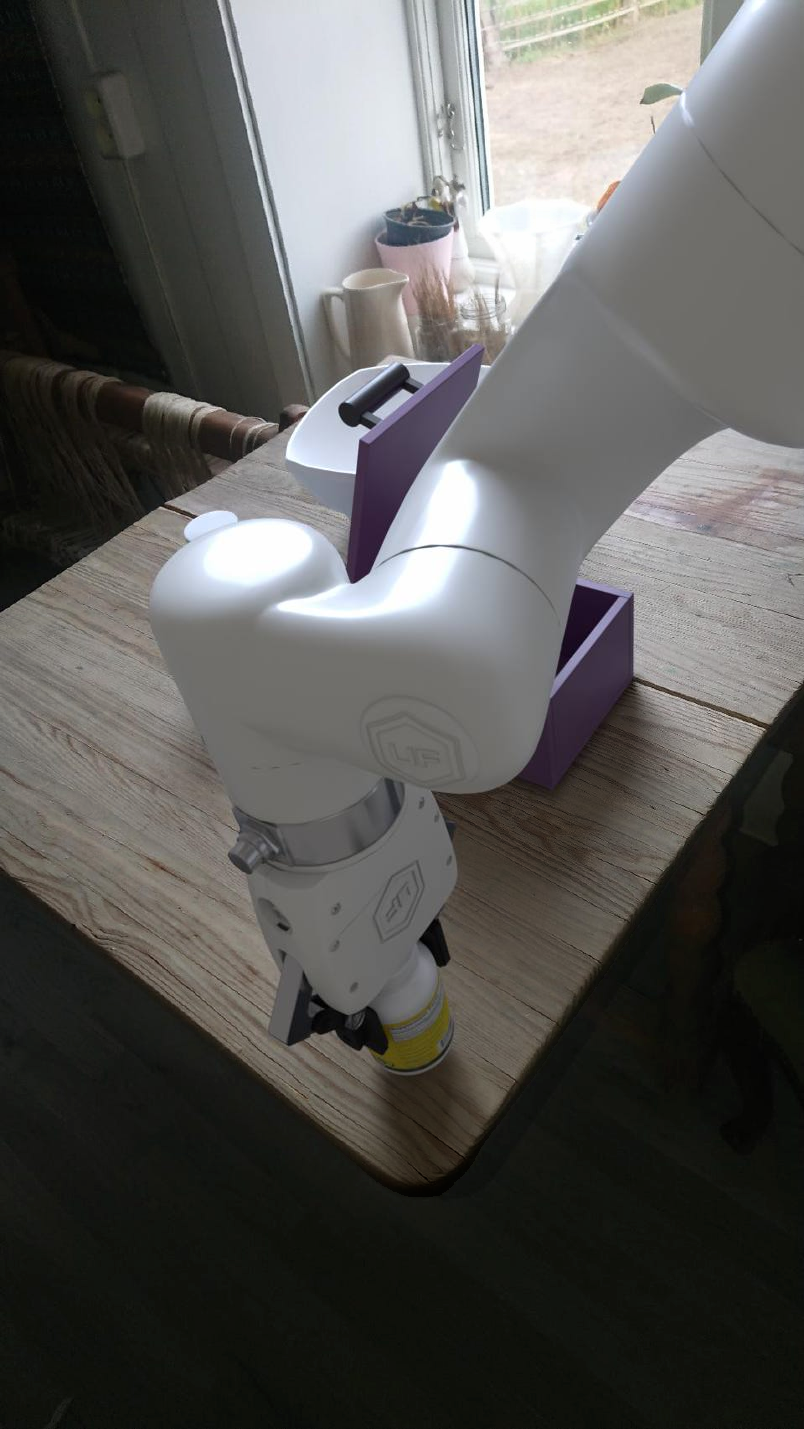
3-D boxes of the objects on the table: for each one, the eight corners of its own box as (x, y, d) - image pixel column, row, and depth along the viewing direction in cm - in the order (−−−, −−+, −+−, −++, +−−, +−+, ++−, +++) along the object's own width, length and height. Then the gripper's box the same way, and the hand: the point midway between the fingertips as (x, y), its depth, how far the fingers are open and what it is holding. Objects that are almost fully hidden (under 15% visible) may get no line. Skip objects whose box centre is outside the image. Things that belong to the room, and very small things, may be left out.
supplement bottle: (354, 1019, 60) (316, 930, 54) (433, 981, 61) (405, 888, 55) (387, 1095, 56) (350, 1009, 50) (471, 1052, 57) (445, 962, 51)
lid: (485, 347, 67) (424, 315, 68) (369, 444, 60) (303, 407, 61) (444, 539, 82) (394, 510, 83) (347, 635, 75) (295, 602, 76)
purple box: (633, 677, 80) (634, 592, 74) (552, 790, 72) (545, 706, 66) (453, 621, 88) (441, 541, 82) (365, 717, 81) (344, 637, 75)
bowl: (368, 455, 112) (348, 359, 104) (556, 466, 104) (550, 362, 96) (285, 570, 99) (254, 469, 91) (494, 592, 90) (481, 483, 82)
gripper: (256, 973, 37) (359, 1162, 49) (491, 687, 46) (528, 909, 58) (125, 896, 41) (251, 1089, 53) (365, 647, 50) (426, 862, 62)
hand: (395, 993), depth 55 cm, fingers closed on supplement bottle, 5 cm apart
